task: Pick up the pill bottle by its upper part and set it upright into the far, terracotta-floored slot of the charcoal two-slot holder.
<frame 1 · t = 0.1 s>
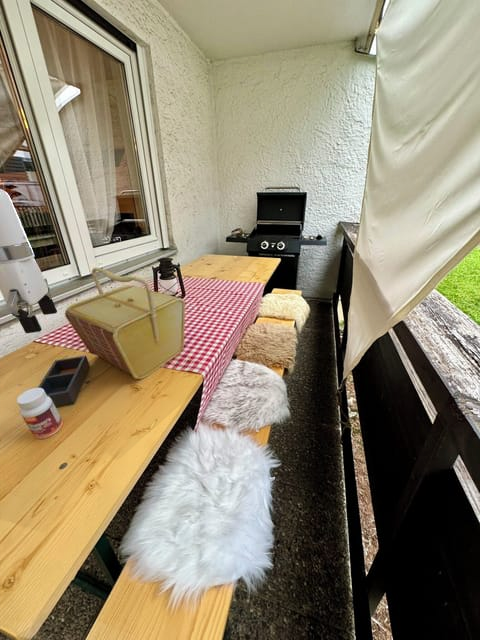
hand: (42, 322, 64), 24 cm above the table, tool pointing down, fingers open, 9 cm apart
pill bottle: (49, 429, 64), on the table
picnic basket: (139, 354, 91), on the table
holder: (66, 386, 78), on the table
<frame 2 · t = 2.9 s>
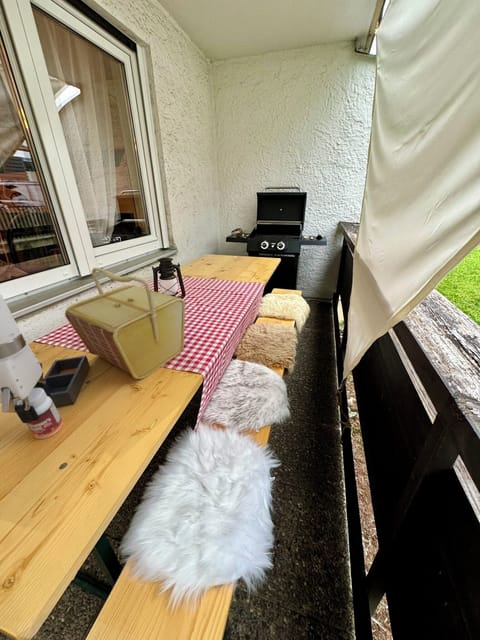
hand: (38, 408, 61), 7 cm above the table, tool pointing down, fingers closed on pill bottle, 6 cm apart
pill bottle: (49, 429, 64), on the table, touching gripper
everything else where it was.
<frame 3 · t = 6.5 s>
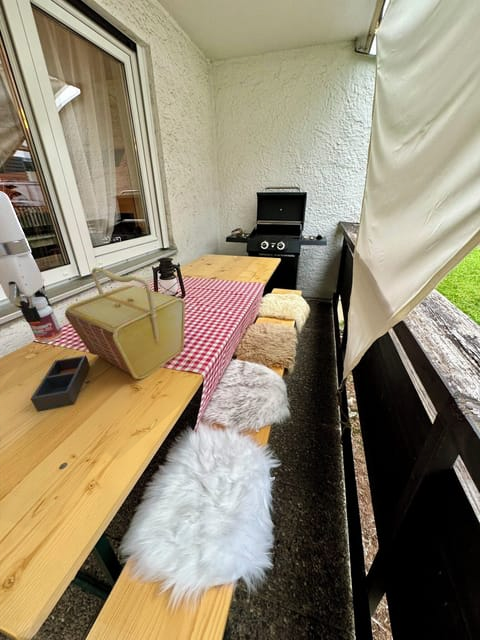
hand: (40, 315, 70), 23 cm above the table, tool pointing down, fingers closed on pill bottle, 6 cm apart
pill bottle: (50, 337, 73), point 16 cm above the table, touching gripper
everything else where it was.
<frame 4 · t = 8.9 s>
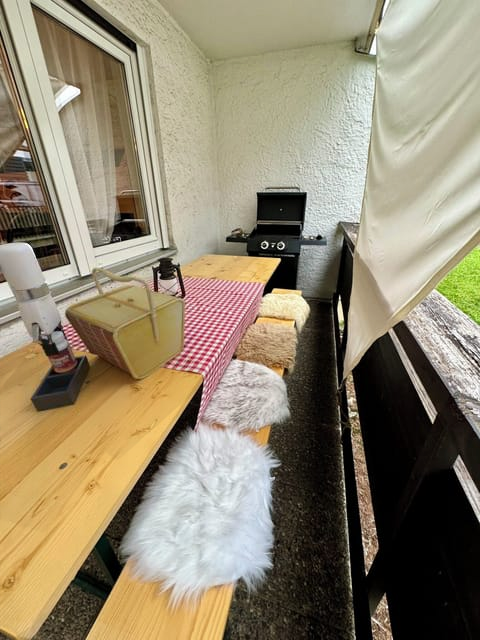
hand: (57, 348, 76), 11 cm above the table, tool pointing down, fingers closed on pill bottle, 6 cm apart
pill bottle: (66, 367, 80), point 4 cm above the table, touching gripper
everything else where it was.
when the fingers open (8 cm above the table, at t = 10.3 s): pill bottle stays where it is, resting on holder.
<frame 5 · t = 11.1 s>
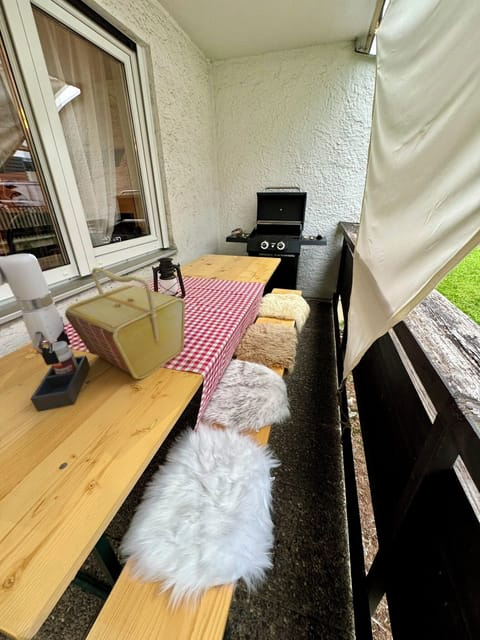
hand: (59, 354, 77), 9 cm above the table, tool pointing down, fingers open, 9 cm apart
pill bottle: (70, 376, 81), point 1 cm above the table, touching holder
everything else where it was.
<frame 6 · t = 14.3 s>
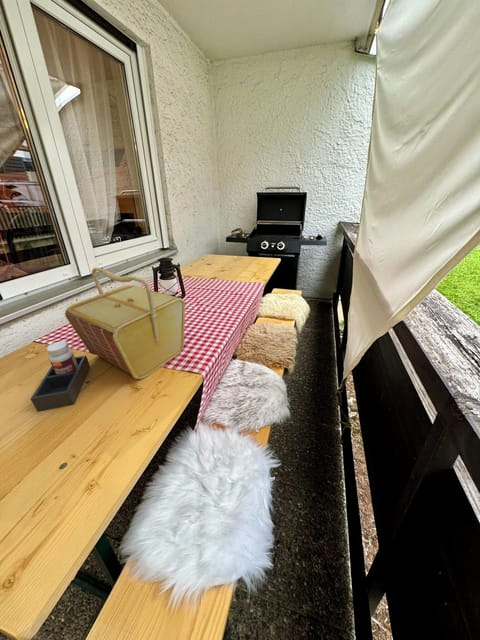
nothing on the table moved.
at the end: pill bottle 0.1 cm from the target spot in the holder, point 0.6 cm above the holder's base; pill bottle tilted 0°; the gripper is holding nothing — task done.
